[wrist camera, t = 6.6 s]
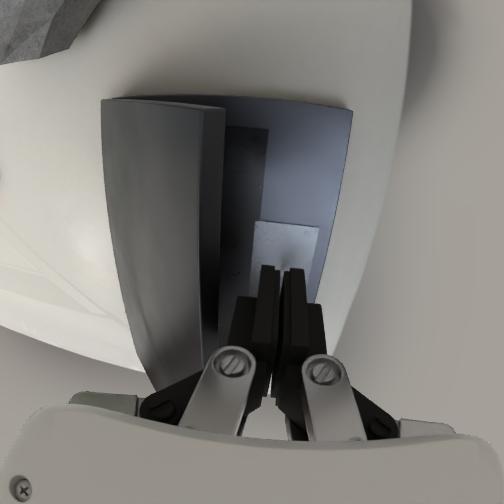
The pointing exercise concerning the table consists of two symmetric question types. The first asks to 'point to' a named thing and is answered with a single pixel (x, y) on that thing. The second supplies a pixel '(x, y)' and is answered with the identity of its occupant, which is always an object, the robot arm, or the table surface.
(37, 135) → the table surface
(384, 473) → the robot arm
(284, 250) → the laptop
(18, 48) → the potted plant
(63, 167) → the table surface
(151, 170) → the laptop screen
